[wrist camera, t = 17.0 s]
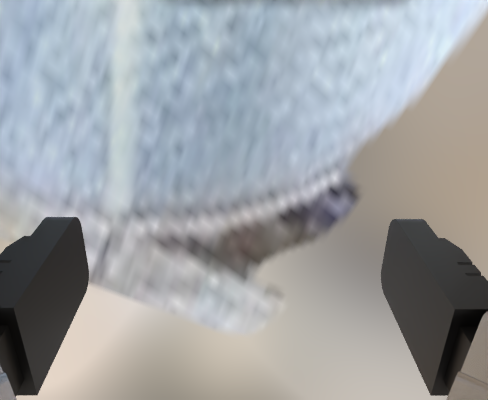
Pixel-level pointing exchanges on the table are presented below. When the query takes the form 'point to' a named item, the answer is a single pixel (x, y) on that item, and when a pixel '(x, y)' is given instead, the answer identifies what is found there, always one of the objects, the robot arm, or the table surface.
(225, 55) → the table surface
